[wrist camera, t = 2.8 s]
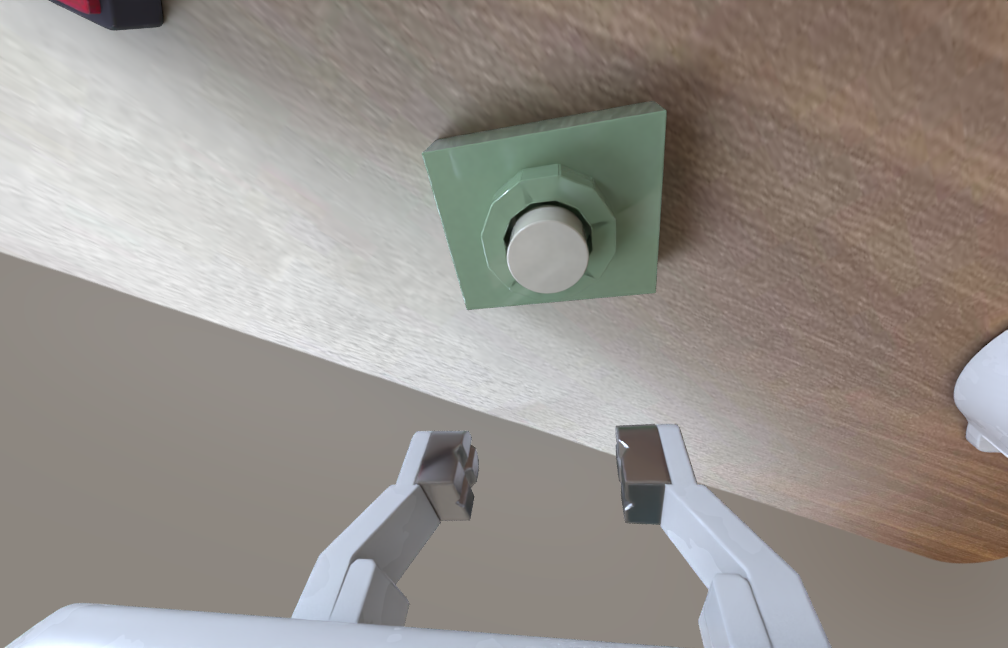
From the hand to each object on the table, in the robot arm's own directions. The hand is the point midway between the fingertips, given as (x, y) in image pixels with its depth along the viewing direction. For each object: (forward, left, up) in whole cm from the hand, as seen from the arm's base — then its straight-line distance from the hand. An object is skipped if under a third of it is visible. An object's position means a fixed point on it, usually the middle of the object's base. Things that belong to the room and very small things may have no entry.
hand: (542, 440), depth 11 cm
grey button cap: (0, 0, -12) cm, 12 cm away
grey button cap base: (0, 0, -17) cm, 17 cm away
